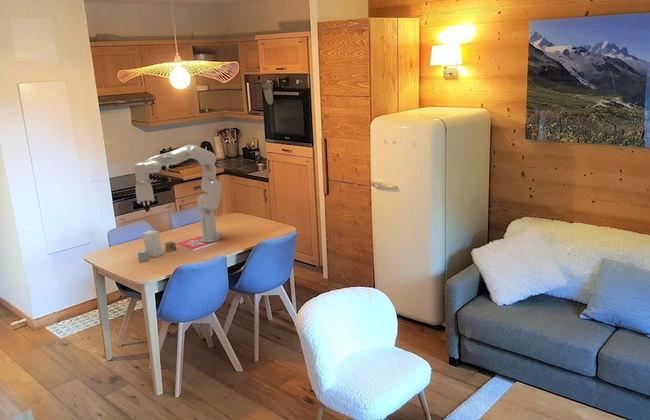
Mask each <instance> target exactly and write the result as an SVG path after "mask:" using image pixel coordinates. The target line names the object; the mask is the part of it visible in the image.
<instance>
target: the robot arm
mask: <svg viewBox="0 0 650 420" xmlns="http://www.w3.org/2000/svg"><path fill="white" fill-rule="evenodd" d="M189 159H193V160H195V161H197V162H198V163H199V164H200V165H201V167H202V177H201V183H200V188H201V190H202V191H203V192H204V193H202V194H200V195H199V196H198V197H197V199H196V205H197V208H198V211H199V217H200V225H201V233H202V237H201V239H200V241H201V242H202V243H212V242H213V243H214V242H216V241H217V242H218V241H219V240H220V239H221V237H220V236H225V232H221V231H220V232H218V230H217V224H216V223H217V222H216V214H215V210H217V209H218V208H219V205H220V202H221V196H222V185H221V182H220V181H219V180H218V179H216V175H217V168H216V165H215V164H216V162H217V155H216V154H215V153H214V152H212V151H210V150H208V149H205V148H202V147H200V146H198V145H194V144H186V145H183V146H181V147H178V148H176V149H174V150H172V151H168V152H165V153H160V154H158V155H154V156H152V157H150V158H148V159H146V160H144V161H142V162H141V161H139V162H135V163H134V164H133V167H134V175H135V180H136V181H135V182H136V184H135V197H136V203H137V204H140V205H142V206H143V209H144V211H145V212H146V213H148V212H150V210H151V209H150V208H151V207H150V205H151V203H153V202H155V201H156V199H155V195H154V194H155V193H154V189H153V186H152V184H151V182H153V180H152V179H150V175H149V174H158V173H159V172H160V171H161V170H162V167H164V166H173V165H178V164H180V163H182V162H185V161H187V160H189Z"/></svg>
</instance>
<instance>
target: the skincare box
mask: <svg viewBox="0 0 650 420" xmlns="http://www.w3.org/2000/svg"><path fill="white" fill-rule="evenodd" d="M142 236H143V237H142V238H143V244H144V250H147V253H148V257H151V258H157V257H159V256H162V255H163V248H162V243H161V237H160V231H159V230H147V231H145V232H143V233H142Z"/></svg>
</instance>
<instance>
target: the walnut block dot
mask: <svg viewBox="0 0 650 420" xmlns="http://www.w3.org/2000/svg"><path fill="white" fill-rule="evenodd" d="M164 244H165V245H164V246H165V251H167V252H173V251H177V245H176V244H177V243H176V242H175V241H174V240H171V241H168V242H164Z"/></svg>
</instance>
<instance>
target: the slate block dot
mask: <svg viewBox="0 0 650 420" xmlns="http://www.w3.org/2000/svg"><path fill="white" fill-rule="evenodd" d="M137 257H138V262H139V263H147V262H148V261H149V256H148V253H147V250H146V249H144V250H143V249H142V250H138V252H137Z"/></svg>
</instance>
